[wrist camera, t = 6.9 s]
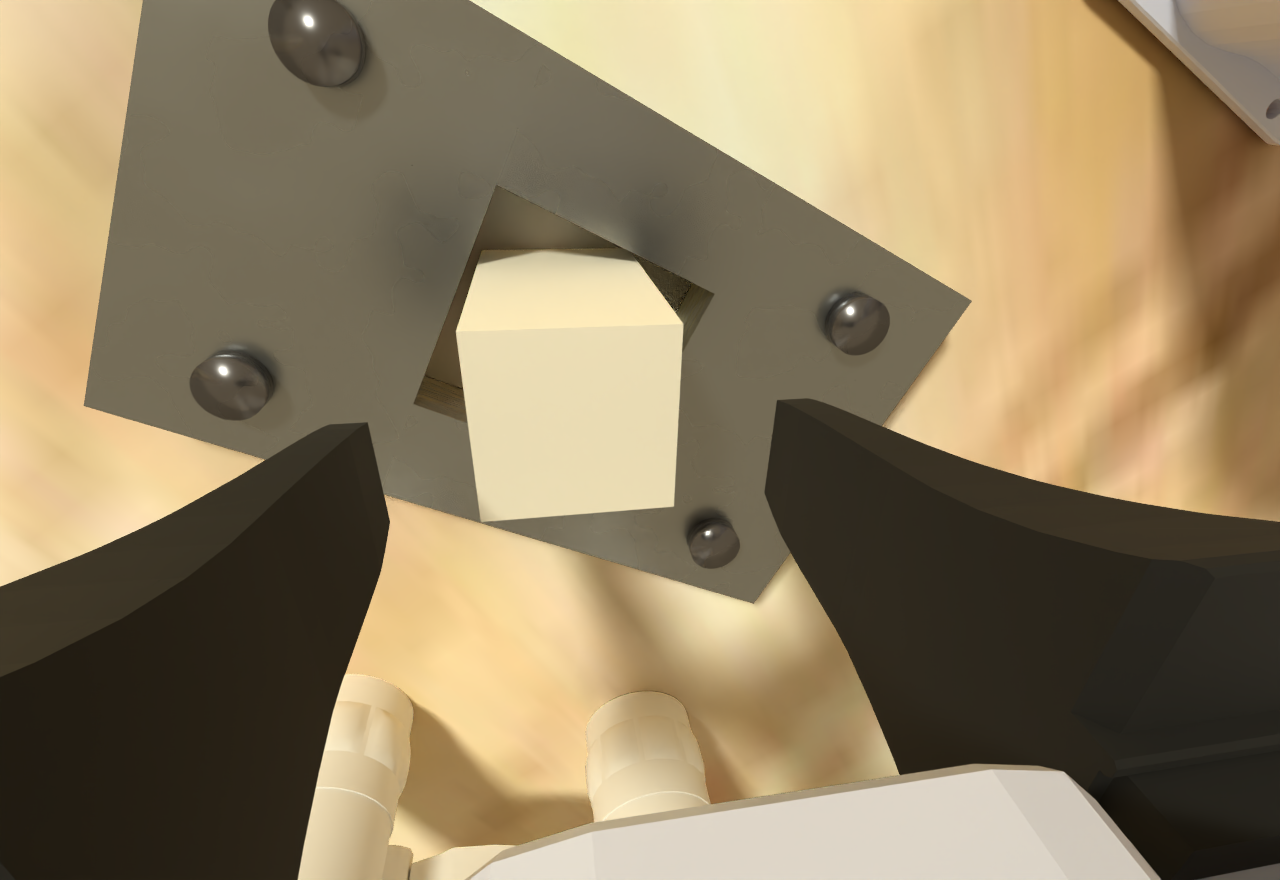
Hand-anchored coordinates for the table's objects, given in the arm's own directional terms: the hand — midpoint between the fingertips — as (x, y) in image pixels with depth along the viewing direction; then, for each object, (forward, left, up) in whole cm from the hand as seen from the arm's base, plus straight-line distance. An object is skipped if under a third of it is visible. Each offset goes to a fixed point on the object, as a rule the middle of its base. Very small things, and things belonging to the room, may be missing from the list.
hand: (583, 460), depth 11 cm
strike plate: (0, 0, -8) cm, 8 cm away
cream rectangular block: (0, 0, -8) cm, 8 cm away
